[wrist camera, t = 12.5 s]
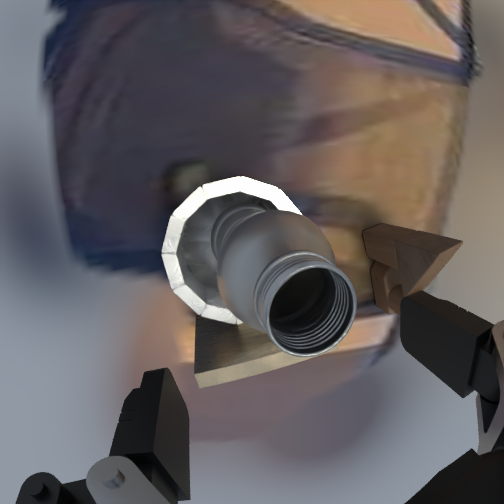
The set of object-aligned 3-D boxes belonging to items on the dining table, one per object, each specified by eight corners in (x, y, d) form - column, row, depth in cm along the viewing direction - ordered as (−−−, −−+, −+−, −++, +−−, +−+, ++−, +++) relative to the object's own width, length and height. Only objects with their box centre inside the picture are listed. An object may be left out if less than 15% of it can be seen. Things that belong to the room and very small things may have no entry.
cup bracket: (160, 198, 31) (136, 200, 19) (272, 171, 32) (310, 160, 20) (197, 327, 34) (197, 388, 22) (298, 300, 35) (339, 348, 24)
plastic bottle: (216, 274, 30) (241, 406, 11) (204, 207, 29) (203, 238, 9) (278, 262, 31) (386, 362, 11) (268, 196, 29) (384, 206, 10)
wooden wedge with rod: (383, 222, 35) (494, 247, 18) (395, 295, 38) (488, 351, 20) (360, 231, 35) (470, 264, 18) (374, 306, 37) (465, 370, 20)
